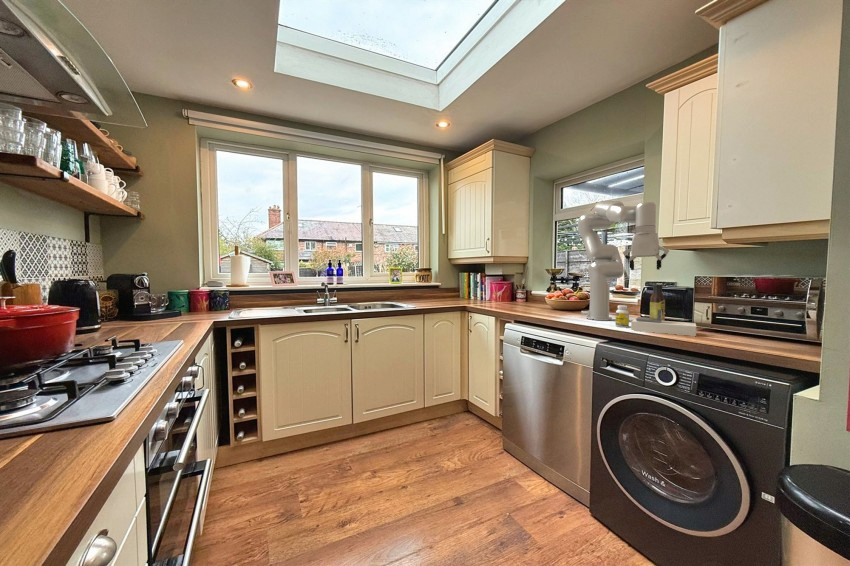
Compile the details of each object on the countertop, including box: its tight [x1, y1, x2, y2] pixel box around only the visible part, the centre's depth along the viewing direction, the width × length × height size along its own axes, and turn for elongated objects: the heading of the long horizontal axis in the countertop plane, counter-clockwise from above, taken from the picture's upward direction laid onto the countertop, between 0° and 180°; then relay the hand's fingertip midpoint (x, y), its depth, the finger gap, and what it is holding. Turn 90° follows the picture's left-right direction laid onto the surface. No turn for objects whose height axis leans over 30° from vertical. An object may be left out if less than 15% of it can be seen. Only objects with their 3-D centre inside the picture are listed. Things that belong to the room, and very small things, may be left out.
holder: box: [630, 318, 697, 337], centre depth 146 cm, size 22×12×4 cm, turn 52°
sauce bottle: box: [649, 283, 666, 321], centre depth 171 cm, size 7×6×20 cm
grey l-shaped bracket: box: [635, 310, 662, 322], centre depth 149 cm, size 9×8×5 cm
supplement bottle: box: [615, 304, 630, 328], centre depth 160 cm, size 5×5×10 cm
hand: (645, 269), depth 151 cm, fingers open, 9 cm apart
